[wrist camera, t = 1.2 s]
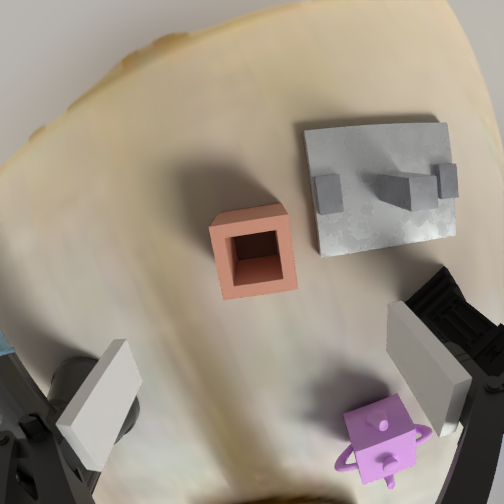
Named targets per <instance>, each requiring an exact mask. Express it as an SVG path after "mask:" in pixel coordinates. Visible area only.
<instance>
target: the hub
mask: <svg viewBox="0 0 504 504" xmlns="http://www.w3.org/2000/svg"><path fill="white" fill-rule="evenodd" d="M273 230H275V237H276V244H277V251H278V255H273V256H266V257H260V258H253V259H247V260H240V261H238V256H237V250H236V245H235V239H234V236H241V235H247V234H253V233H260V232H266V231H273ZM209 232H210V237H211V242H212V247H213V252H214V257H215V262H216V267H217V272H218V276H219V281H220V286H221V291H222V295H223V300H228V299H235V298H242V297H249V296H256V295H263V294H269V293H276V292H283V291H289V290H295V289H298V284H297V276H296V268H295V260H294V253H293V245H292V238H291V231H290V223H289V216H288V213H287V212H286V210H285V208H284V207H283V205H282V203H278V204H272V205H265V206H259V207H253V208H246V209H240V210H234V211H228V212H222V213H219V214H218V215H217V216H216V218H215V219H214V220H213V222H212V223H211V224H210V226H209Z"/></svg>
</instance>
